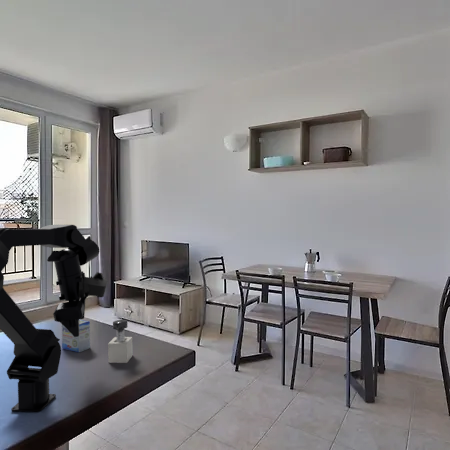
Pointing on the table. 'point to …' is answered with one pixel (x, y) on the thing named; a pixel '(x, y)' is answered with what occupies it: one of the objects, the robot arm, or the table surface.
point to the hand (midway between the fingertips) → (79, 327)
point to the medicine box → (77, 338)
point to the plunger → (120, 329)
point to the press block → (120, 350)
